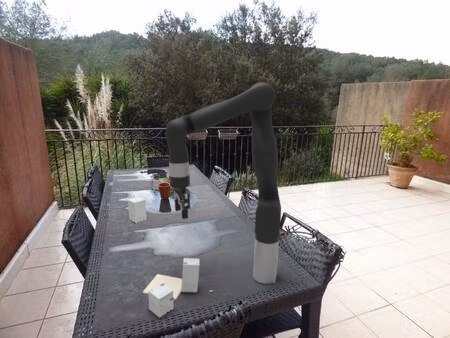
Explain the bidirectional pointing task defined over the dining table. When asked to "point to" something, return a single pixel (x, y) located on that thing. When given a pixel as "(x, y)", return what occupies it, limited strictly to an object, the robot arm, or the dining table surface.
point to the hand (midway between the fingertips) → (181, 214)
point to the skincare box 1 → (161, 299)
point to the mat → (167, 280)
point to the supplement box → (137, 209)
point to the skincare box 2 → (190, 275)
